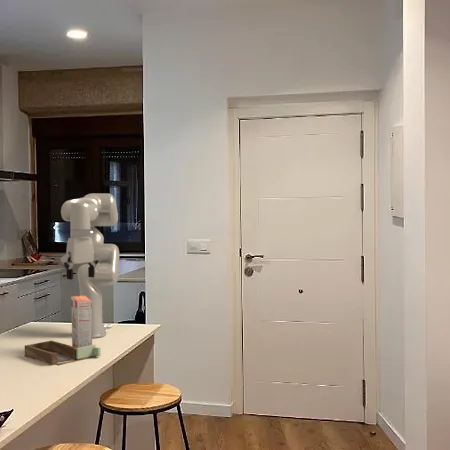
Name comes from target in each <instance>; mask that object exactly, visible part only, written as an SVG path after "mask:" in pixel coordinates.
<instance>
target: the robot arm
mask: <svg viewBox="0 0 450 450" xmlns="http://www.w3.org/2000/svg"><path fill="white" fill-rule="evenodd" d="M60 214H61V218H62V220H64V221H65V222H70V237H68V238H67V239H68V240H67V244H66V252H65V254H64V255H63V256H62V257H60V259H59V260H60V262H61V265H62V266H63V267H64V268H65V271H66V275H65V276H66V279H67V280H71V281H72V280H73V279H74V269H73V267H74V265H76V264H79V265H80V266H79V267H78V269H77V279H78V284H79V285H78V286H79V296H86V297H87V298H88V299H90V300H91V303H92V339H97V338H103V337H105V336H106V335H107V332H106V330H109V329H112V324H111V323H108V324H104V323H103V294H102V292H101V291H100V290H99V288H98V286H113V285H116V284H117V283H118V279H119V273H120V272H119V271H120V269H119V268H120V250H119V246H117V245H116V244H114V243H104V240H105V238H104V235H103V233H101V232H100V230H99V229H97V227H114V226H116V225H117V224H118V221H119V213H118V208H117V202H116V199H115V197H114V195H113V194H112V193H98V192H97V193H94V192H93V193H88V194H86V195H84V196H83V197H80V198H79V197H78V198H74V199H69V200H66V201H65V202H64V203H63V204H62V205H61V209H60ZM81 264H82V265H81Z"/></svg>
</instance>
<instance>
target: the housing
mask: <svg viewBox="0 0 450 450" xmlns="http://www.w3.org/2000/svg"><path fill="white" fill-rule="evenodd" d="M76 348H77V347H73V346H72V345H69V344H66V343H62V342H59V341H55V340H48V341H46V340H45V341H43V342H36V343H31V344H25V345H24V357H27V358H29V359H33V360H34V361H38V362H42V363H45V364H47V365H50V366H54V365H57V366H61V365H65V364H70V363H74V362H79V361H84V360H87V359H92V358H96V357H97V356H90V357H85V358H81V359H76ZM97 358H98V357H97Z"/></svg>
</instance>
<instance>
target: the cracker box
mask: <svg viewBox="0 0 450 450" xmlns="http://www.w3.org/2000/svg"><path fill="white" fill-rule="evenodd" d="M70 299H71V300H70V301H71V307H70V308H71V346H73V347H77V348H81V347H85V346H90V345H93V338H92V303H91V300H90V299H88V298H87V297H86V296H80V295H73V296H71V297H70Z"/></svg>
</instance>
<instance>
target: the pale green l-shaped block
mask: <svg viewBox="0 0 450 450" xmlns="http://www.w3.org/2000/svg"><path fill="white" fill-rule="evenodd" d="M90 356H97V358H100V357H101V347H99V346H97V344H92V345H90V346H85V347H81V348H76V359H81V358H85V357H90Z"/></svg>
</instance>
